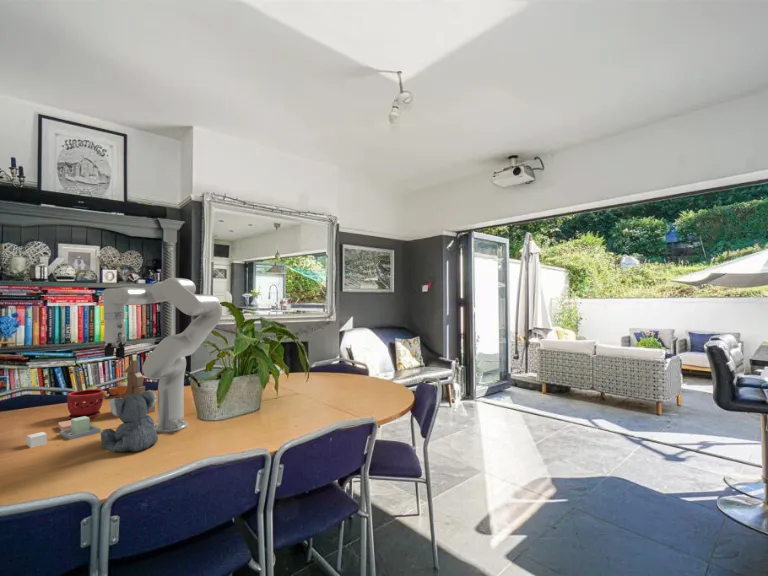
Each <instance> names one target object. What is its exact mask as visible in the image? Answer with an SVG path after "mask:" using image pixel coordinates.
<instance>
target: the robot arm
mask: <svg viewBox="0 0 768 576" xmlns="http://www.w3.org/2000/svg"><path fill="white" fill-rule="evenodd" d="M196 291H197V287H196V284H195V282H193V281H192V280H190V279H187V278H182V277H169V278H166V279H164V280H163V281H157V282H155V283H154V284H153V285H152V286H146V287H125V286H124V287H118V288H105V289H103V292H102V293H103V295H102V297H103V301H102V302H103V303H102V305H103V307H102V309H103V312H102V313H103V321H104V325H103V326H104V328H103V344H104V345H103V346H104V347H103V348H104V357H112V356H114V346H113V345H114V344H115V346H116V347H115V358H118V359H119V358H124V357H125V354H126V351H125V350H126V349H125V348H126V342H127V327H126V322H125V321H126V319H125V315H126V313H125V309H126V307H125V306H131V305H132V306H133V305H134V306H135V305H148V304H149V305H150V304H156V303H162V302H169V303H170V304H171V305H173V306H174V307H175V308H177V309H178V310H180V312H182V313H183V314H185V315H187V316H192V317H195V316H197V317H196V318H195V319H194V320H192V321H191V322H190V323H189V324H188V326H187V327H186V328H185V329H184V330H183V331H182V332H180V333H178V334H171V335H168V336H166V337H164V338H163V339H162V340H161V341H160V342H159V343H158V344H157V345H156V346H155V347H154V349H153V350H152V351H151V353H149V355H148V356H147V357H146V359H145V360H144V362H143V366H142V372H143V375H144V376H145V377H146V378H147V379H150V380H158V384H157V397H158V398H157V424H156V425H154V429H155V431H156V433H173V432H177V431H181V430H183V429H185V428H187V427H188V425H189V424H188V421H187V420H185V416H184V409H185V407H184V405H185V404H184V403H185V402H184V399H185V397H184V394H185V393H184V389H185V385H184V384H185V374H186V368H187V359H186V357H188V356H191V355H193V354H195V352H196V351H197V350H198V348H200V346H201V345H202V344H203V342H204V341H205V340H206V339H207V338H208V335H210V333H212V331H213V330H214V329H215V328H216V326H217V325H218V324H219V322H220V320H221V318H222V315H223V306H222V303H221V301H220V299H219V298H217V297H216V296H214V295H211V294H197V293H196ZM220 303H221V304H220Z"/></svg>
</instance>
